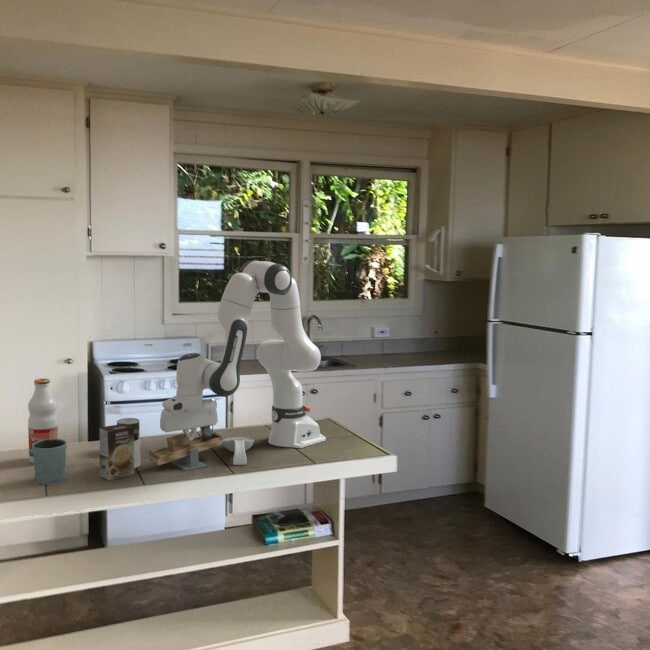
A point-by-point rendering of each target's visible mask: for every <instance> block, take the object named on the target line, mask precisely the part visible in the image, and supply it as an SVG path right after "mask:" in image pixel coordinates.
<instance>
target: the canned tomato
mask: <svg viewBox="0 0 650 650" xmlns="http://www.w3.org/2000/svg"><path fill="white" fill-rule="evenodd" d="M118 424H128V425H131V426H133V427H134V429H137V430H138V431H139V439H140V440H141V438H140V430H141V429H140V419H139V418H137V417H125V418H120V419H117V420H116V425H118Z"/></svg>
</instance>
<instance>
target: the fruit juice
mask: <svg viewBox="0 0 650 650" xmlns="http://www.w3.org/2000/svg"><path fill="white" fill-rule="evenodd" d="M33 381H34V382H33V383H34V384H33V385H34V392H33V395H32V397H31V398H30V399H29V402H28V404H27V408H28V412H29V413H28V414H29V417H28V418H27V419H28V421H27V422H28V423H27V429H28V431H27V432H28V433H27V434H28V459H29V462H30V463H32V464H34V457H33V450H32V444H33V443H35V442H37V441H40V440H44V439H59V421H58V415H57V412H56V411H57V409H58V402H57V400H56V399H55V398H54V396H53V395H52V392H51V389H50V385H51V384H50V382H51V380H50V379H49V378H36V379H34V380H33Z"/></svg>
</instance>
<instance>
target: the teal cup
mask: <svg viewBox="0 0 650 650" xmlns="http://www.w3.org/2000/svg"><path fill="white" fill-rule="evenodd" d="M32 450H33V457H34V463H33V465H34V476H35V482H36V483H37V484H39V485H46V486H47V485H55V484H59V483H61V482H64V480H65V479H66V460H67V459H66V457H67V456H66V455H67V454H66V453H67V441H66V440H64V439H61V438H58V439H44V440H40V441H37V442H35V443H33V444H32Z"/></svg>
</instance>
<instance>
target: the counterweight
mask: <svg viewBox="0 0 650 650" xmlns="http://www.w3.org/2000/svg"><path fill="white" fill-rule="evenodd" d="M199 430H200V436H201V439H202V441H208V440H211V439H214V432H215V431H214V425H211V426H204V427H199Z"/></svg>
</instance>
